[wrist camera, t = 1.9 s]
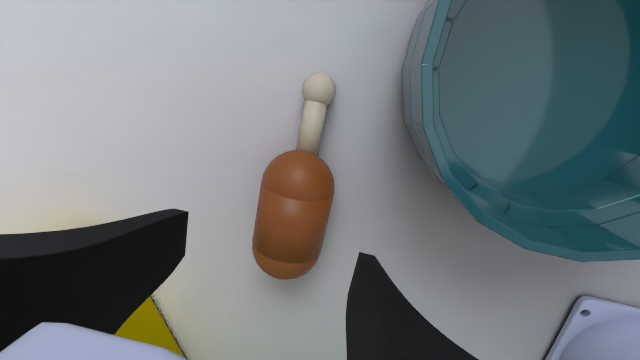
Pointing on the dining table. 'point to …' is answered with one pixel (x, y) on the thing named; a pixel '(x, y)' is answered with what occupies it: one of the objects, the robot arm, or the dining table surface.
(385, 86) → the dining table surface
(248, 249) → the dining table surface
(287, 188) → the drumstick
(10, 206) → the dining table surface
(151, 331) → the element tile
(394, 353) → the robot arm
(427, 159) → the teal mixing bowl
